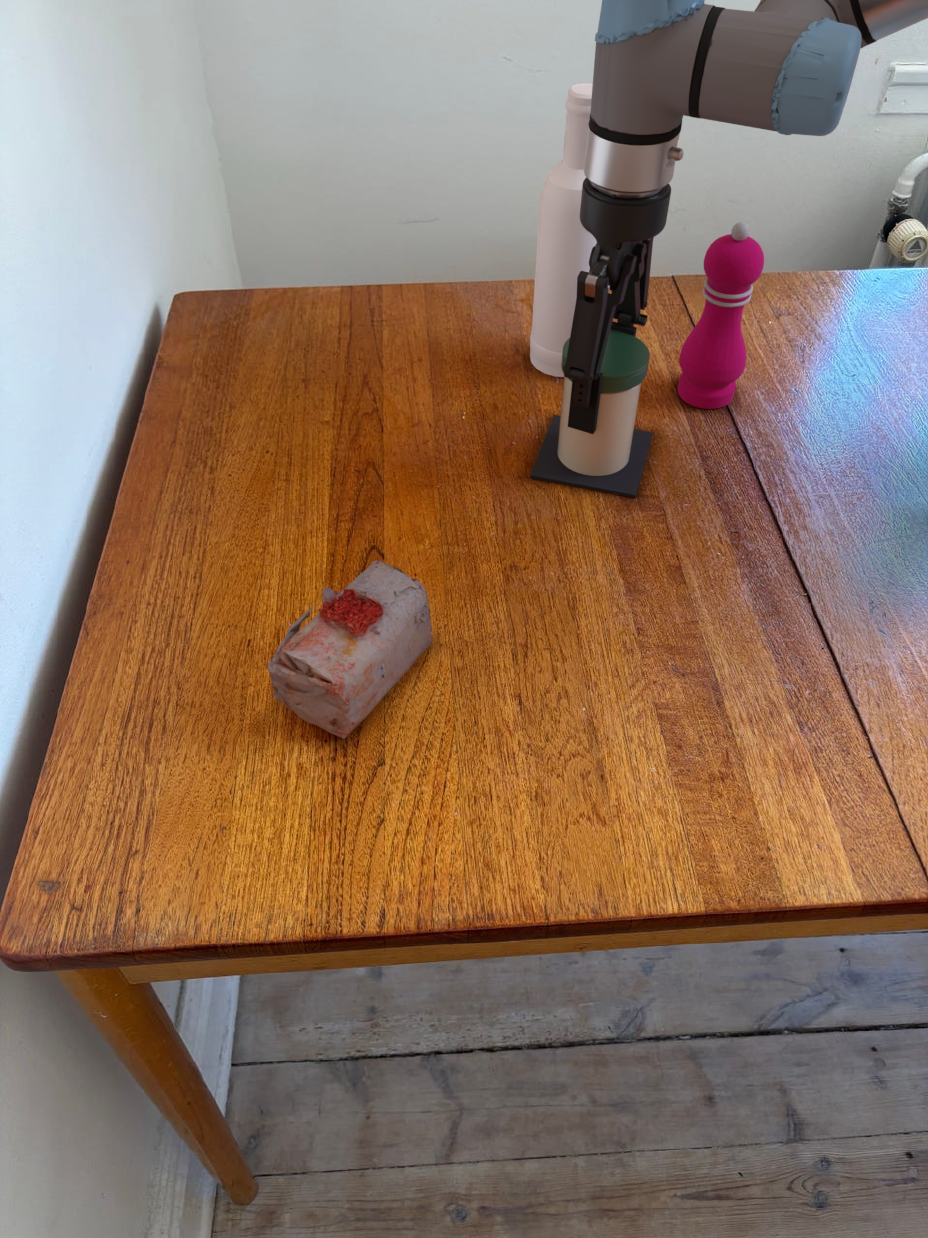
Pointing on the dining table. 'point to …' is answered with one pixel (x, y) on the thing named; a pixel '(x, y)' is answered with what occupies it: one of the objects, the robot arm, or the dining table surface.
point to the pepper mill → (720, 321)
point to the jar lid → (620, 362)
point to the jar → (599, 434)
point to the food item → (352, 649)
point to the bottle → (561, 241)
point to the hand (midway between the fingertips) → (598, 404)
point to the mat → (615, 483)
